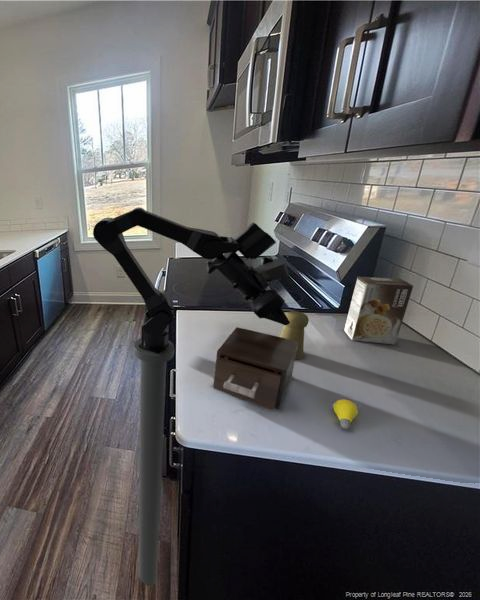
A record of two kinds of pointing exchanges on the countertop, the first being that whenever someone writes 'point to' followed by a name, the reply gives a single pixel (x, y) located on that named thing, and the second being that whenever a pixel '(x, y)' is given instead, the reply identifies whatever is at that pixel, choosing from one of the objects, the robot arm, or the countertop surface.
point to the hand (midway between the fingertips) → (281, 316)
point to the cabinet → (262, 354)
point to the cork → (296, 329)
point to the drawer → (247, 381)
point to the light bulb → (345, 412)
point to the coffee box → (377, 309)
